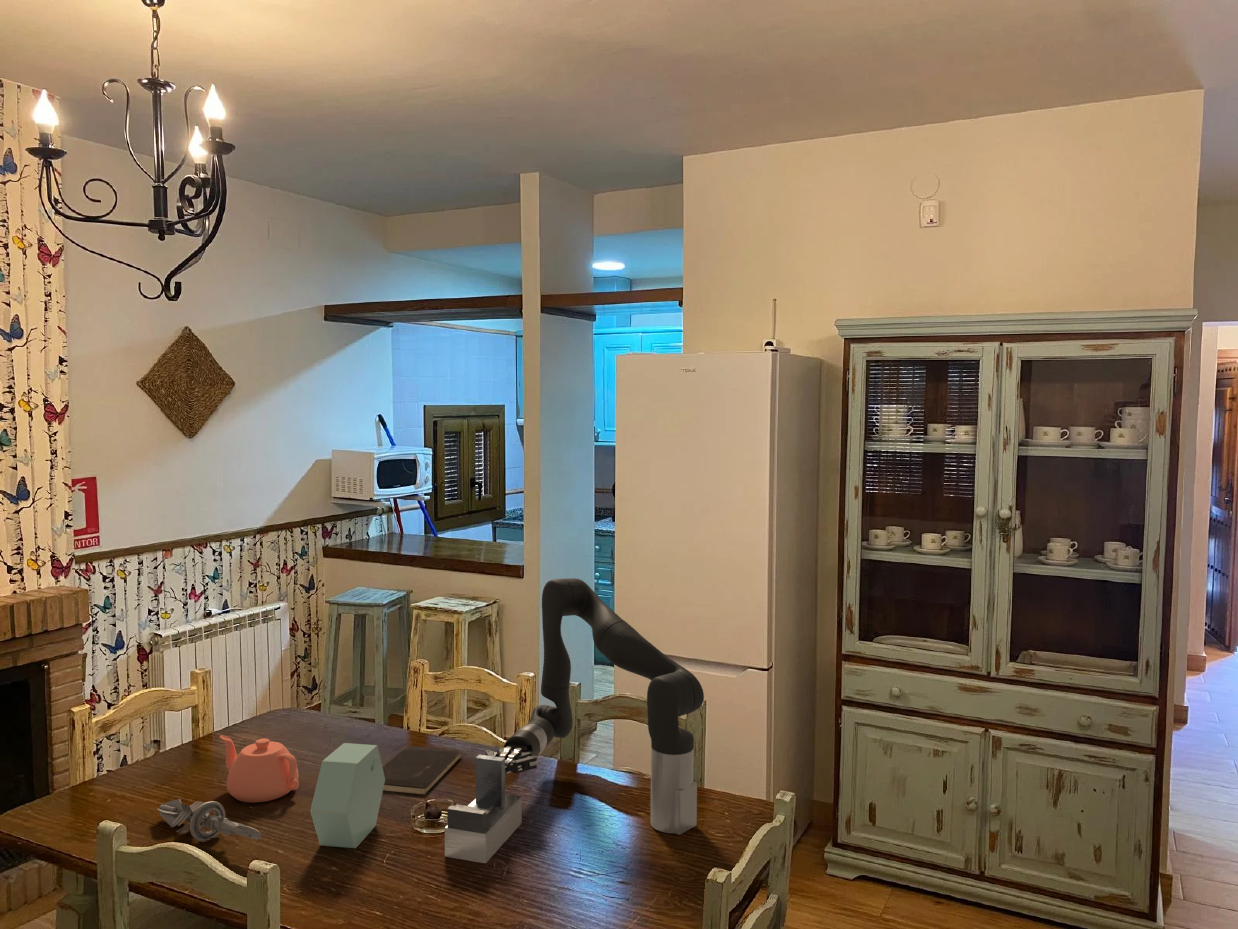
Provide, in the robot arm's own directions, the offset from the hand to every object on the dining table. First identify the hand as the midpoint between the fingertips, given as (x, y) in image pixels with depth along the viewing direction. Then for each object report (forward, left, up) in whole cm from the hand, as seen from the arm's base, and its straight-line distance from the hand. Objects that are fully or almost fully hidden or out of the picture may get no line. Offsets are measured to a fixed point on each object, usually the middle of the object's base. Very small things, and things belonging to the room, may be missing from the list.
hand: (494, 774), depth 191 cm
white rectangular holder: (-2, +4, -12) cm, 13 cm away
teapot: (+54, +25, -12) cm, 61 cm away
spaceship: (+40, +44, -12) cm, 60 cm away
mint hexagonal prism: (+20, +22, -12) cm, 33 cm away
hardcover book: (+37, -6, -13) cm, 40 cm away
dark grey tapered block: (-3, +6, -6) cm, 9 cm away
